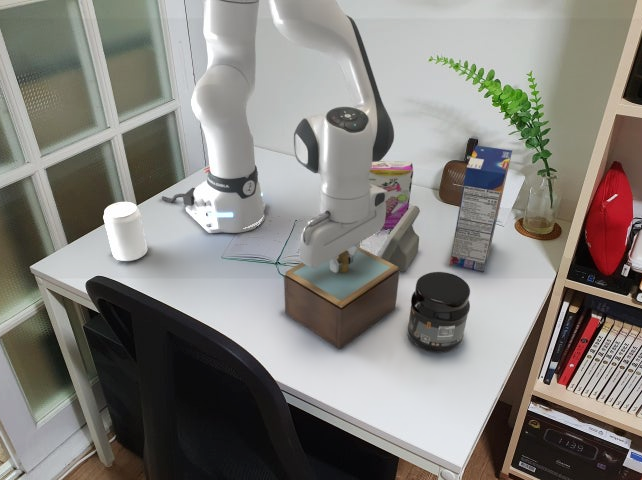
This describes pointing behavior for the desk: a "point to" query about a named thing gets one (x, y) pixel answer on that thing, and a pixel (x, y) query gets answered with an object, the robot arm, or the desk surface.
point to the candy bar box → (393, 188)
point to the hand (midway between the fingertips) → (342, 265)
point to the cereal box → (479, 207)
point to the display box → (340, 309)
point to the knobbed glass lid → (344, 276)
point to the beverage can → (125, 231)
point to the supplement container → (439, 311)
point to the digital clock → (402, 241)
